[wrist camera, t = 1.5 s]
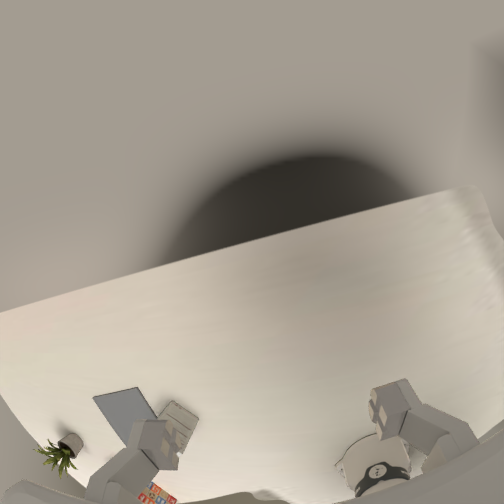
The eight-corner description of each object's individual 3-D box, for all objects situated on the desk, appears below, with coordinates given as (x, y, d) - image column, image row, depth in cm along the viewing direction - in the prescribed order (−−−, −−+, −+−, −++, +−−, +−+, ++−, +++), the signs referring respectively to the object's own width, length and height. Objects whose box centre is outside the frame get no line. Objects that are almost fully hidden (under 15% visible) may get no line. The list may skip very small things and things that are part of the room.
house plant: (64, 411, 62) (32, 439, 46) (100, 443, 62) (72, 476, 45) (55, 429, 64) (27, 455, 48) (87, 459, 64) (62, 487, 48)
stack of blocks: (177, 499, 61) (165, 527, 49) (166, 502, 62) (153, 528, 50) (122, 457, 61) (103, 483, 49) (112, 462, 62) (94, 486, 50)
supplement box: (184, 434, 57) (166, 469, 45) (158, 416, 57) (136, 448, 45) (200, 418, 56) (183, 455, 44) (172, 399, 56) (150, 433, 44)
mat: (180, 450, 58) (180, 451, 58) (134, 454, 60) (133, 455, 60) (137, 387, 57) (136, 388, 57) (93, 396, 59) (92, 397, 59)
